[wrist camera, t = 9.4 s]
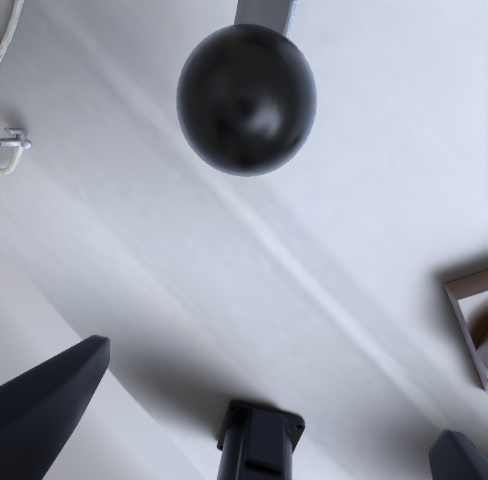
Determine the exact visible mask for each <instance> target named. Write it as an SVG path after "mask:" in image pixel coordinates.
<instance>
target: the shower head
mask: <svg viewBox="0 0 488 480" xmlns="http://www.w3.org/2000/svg"><path fill="white" fill-rule="evenodd" d="M23 2H24V0H15V3H14V7H13V11H12V15H11V18H10V20H9V23H8V26H7V29H6V32H5V35H4V37H3V39H2V42H1V44H0V63H1V61H2V59H3V57H4V55H5V52H6V50H7V48H8V46H9V44H10V42H11V40H12V37H13V34H14V31H15V29H16V26H17V23H18V20H19V17H20V13H21V10H22V6H23ZM5 131H7V132H9V133H11V134H16V138H4V139H0V146H14V149H13V156H12V159H11V162H10V164H9V165H8V167H7V168H5V169H0V174H3V175H6V174H9V173H11V172H13V170H14V169H15V168H16V167H17V164H18V162H19V159H20V157H21V155H22V152H23V150H24V148H25V149H30V147H31V142H30V141H29V140H27V132H26V131H24V130H23V129H20V128H5Z"/></svg>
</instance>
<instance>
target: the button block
mask: <svg viewBox="0 0 488 480" xmlns="http://www.w3.org/2000/svg"><path fill="white" fill-rule="evenodd" d="M444 286H445V289H446V291H447V294H448V296H449V299H450V301H451V304H452V307H453V309H454V312H455V314H456V317H457V319H458V322H459V325H460V327H461V330H462V332H463V335H464V337H465V340H466V343H467V345H468V348H469V350H470V353H471V355H472V358H473V361H474V363H475V366H476V368H477V371H478V373H479V376H480V379H481V381H482V384H483V386H484V389H485V391H486V393H487V395H488V270H485V271H482V272H479V273H476V274H473V275H470V276H467V277H464V278H461V279H458V280H455V281H452V282H449V283H446V284H444Z"/></svg>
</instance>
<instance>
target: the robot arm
mask: <svg viewBox="0 0 488 480" xmlns="http://www.w3.org/2000/svg"><path fill="white" fill-rule="evenodd" d="M109 360H110V340H109V338H107V337H103V336H99V335H93V336H90V337H89V338H87V339H85V340H83V341H81V342H80V343H78V344H76V345H74V346H72V347H70V348H69V349H67V350H65V351H63V352H61V353H60V354H58V355H56V356H54V357H53V358H50V359H49V360H47V361H45V362H43V363H41V364H40V365H38V366H36V367H34V368H32V369H30V370H28V371H27V372H25V373H23V374H21V375H19V376H18V377H16V378H14V379H12V380H11V381H8V382H7V383H5V384H3V385H1V386H0V480H42V479H43V477H44V476H45V474H46V473H47V471H48V470H49V468H50V467H51V465H52V464H53V462H54V460H55V459H56V457H57V456H58V454H59V453H60V451H61V450H62V448H63V447H64V445H65V443H66V442H67V440H68V439H69V437H70V436H71V434H72V433H73V431H74V429H75V428H76V426H77V425H78V423H79V421H80V419H81V417H82V415H83V413H84V412H85V410H86V408H87V406H88V404H89V402H90V400H91V398H92V396H93V394H94V392H95V390H96V389H97V387H98V385H99V383H100V381H101V379H102V377H103V375H104V373H105V371H106V369H107V367H108V364H109ZM304 429H305V421H304V420H303V419H301V418H298V417H294V416H290V415H287V414H283V413H279V412H276V411H272V410H268V409H265V408H261V407H257V406H254V405H250V404H246V403H243V402H239V401H235V400H233V401H230V402H229V405H228V408H227V412H226V415H225V419H224V422H223V426H222V429H221V433H220V436H219V440H218V443H217V448H218V449H219V450H220V451H222V456H221V461H220V466H219V471H218V477H217V480H292V454H293V452H294V450H295V447H296V445H297V443H298V441H299V439H300V437H301V435H302V433H303V431H304ZM429 462H430V467H431V472H432V478H433V480H488V459H487V458H486V457H485V456H484V455H483V454H482V453H481V452H480V451H479V450H478V449H477V448H476V447H475V446H474V445H473V443H472V442H471V441H470V440H469V439H468V438H467V437H466V436H465V435H463V434H462V433H459V432H456V431H452V430H449V429H445V430H443V431H442V432H441V433H440V434H439V436H438V437H437V438H436V440H435V441H434V442H433V443H432V445H431V446H430V448H429Z"/></svg>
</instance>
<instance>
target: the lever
mask: <svg viewBox="0 0 488 480" xmlns="http://www.w3.org/2000/svg"><path fill="white" fill-rule="evenodd" d="M296 1H297V0H238V5H237V11H236V16H235V22H234V25H231V26H228V27H225V28H222V29H220V30H218V31H216V32H214V33H212V34H211V35H209V36H208V37H206V38H205V39H204V40H203V41H202V42H201V43H200V44H198V46H197V47H196V48H195V49H194V50H193V52H192V53H191V54H190V56H189V57H188V59H187V61H186V63H185V65H184V67H183V69H182V72H181V75H180V78H179V82H178V87H177V96H176V105H177V114H178V119H179V123H180V127H181V129H182V132H183V134H184V136H185V138H186V140H187V142H188V144H189V145H190V146H191V148H192V149H193V151H194V152H195V153H196V154H197V155H198V156H199V157H200V158H201V159H202V160H203V161H205V162H206V163H207V164H209V165H210V166H212V167H213V168H215V169H217V170H219V171H221V172H224V173H227V174H230V175H235V176H243V177H250V176H258V175H263V174H266V173H269V172H271V171H274V170H276V169H278V168H279V167H281V166H283V165H284V164H285V163H287V162H288V161H289V160H290V159H291V158H293V157H294V156H295V155H296V153H297V152H298V151H299V150H300V149H301V147H302V146H303V144H304V143H305V141H306V139H307V137H308V135H309V133H310V131H311V128H312V125H313V123H314V118H315V114H316V104H317V96H316V86H315V81H314V77H313V74H312V71H311V69H310V66H309V64H308V62H307V60H306V59H305V57H304V55H303V54H302V52H301V51H300V50H299V49H298V48H297V46H296V45H295V44H294V43H293V42H291V41H290V40H289V39H288V35H289V30H290V26H291V22H292V18H293V14H294V9H295V5H296Z"/></svg>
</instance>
